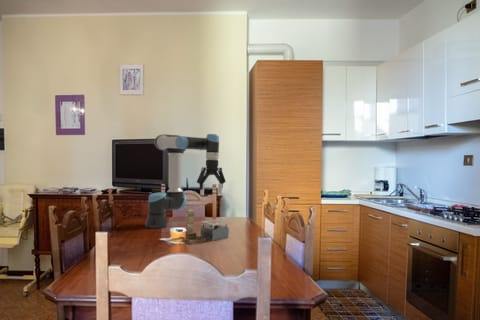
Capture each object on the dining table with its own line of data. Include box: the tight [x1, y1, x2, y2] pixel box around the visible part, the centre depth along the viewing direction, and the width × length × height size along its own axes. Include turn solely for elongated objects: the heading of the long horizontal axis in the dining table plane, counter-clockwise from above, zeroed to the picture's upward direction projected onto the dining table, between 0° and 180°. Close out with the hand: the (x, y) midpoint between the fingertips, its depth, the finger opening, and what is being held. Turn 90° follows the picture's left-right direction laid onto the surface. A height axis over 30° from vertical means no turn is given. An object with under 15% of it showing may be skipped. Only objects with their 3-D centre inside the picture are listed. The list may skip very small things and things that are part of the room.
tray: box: [182, 235, 207, 245], centre depth 177 cm, size 10×10×2 cm
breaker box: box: [199, 218, 230, 242], centre depth 188 cm, size 12×12×10 cm
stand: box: [186, 231, 197, 237], centre depth 187 cm, size 8×8×3 cm
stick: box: [185, 209, 195, 234], centre depth 187 cm, size 3×3×16 cm
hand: (211, 194), depth 190 cm, fingers open, 13 cm apart
